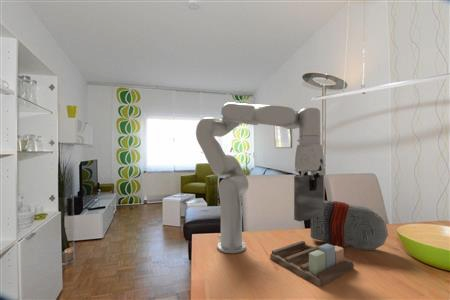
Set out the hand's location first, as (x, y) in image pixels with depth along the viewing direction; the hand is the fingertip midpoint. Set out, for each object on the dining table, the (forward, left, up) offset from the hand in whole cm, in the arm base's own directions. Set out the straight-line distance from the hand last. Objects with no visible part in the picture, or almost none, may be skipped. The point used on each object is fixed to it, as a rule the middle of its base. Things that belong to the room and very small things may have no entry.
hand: (309, 189), depth 86 cm
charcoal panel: (0, 0, -11) cm, 11 cm away
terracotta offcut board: (+7, +6, -28) cm, 30 cm away
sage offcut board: (+7, -5, -28) cm, 30 cm away
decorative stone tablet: (-1, +27, -28) cm, 39 cm away
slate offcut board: (+7, 0, -28) cm, 29 cm away
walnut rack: (0, 0, -28) cm, 28 cm away
